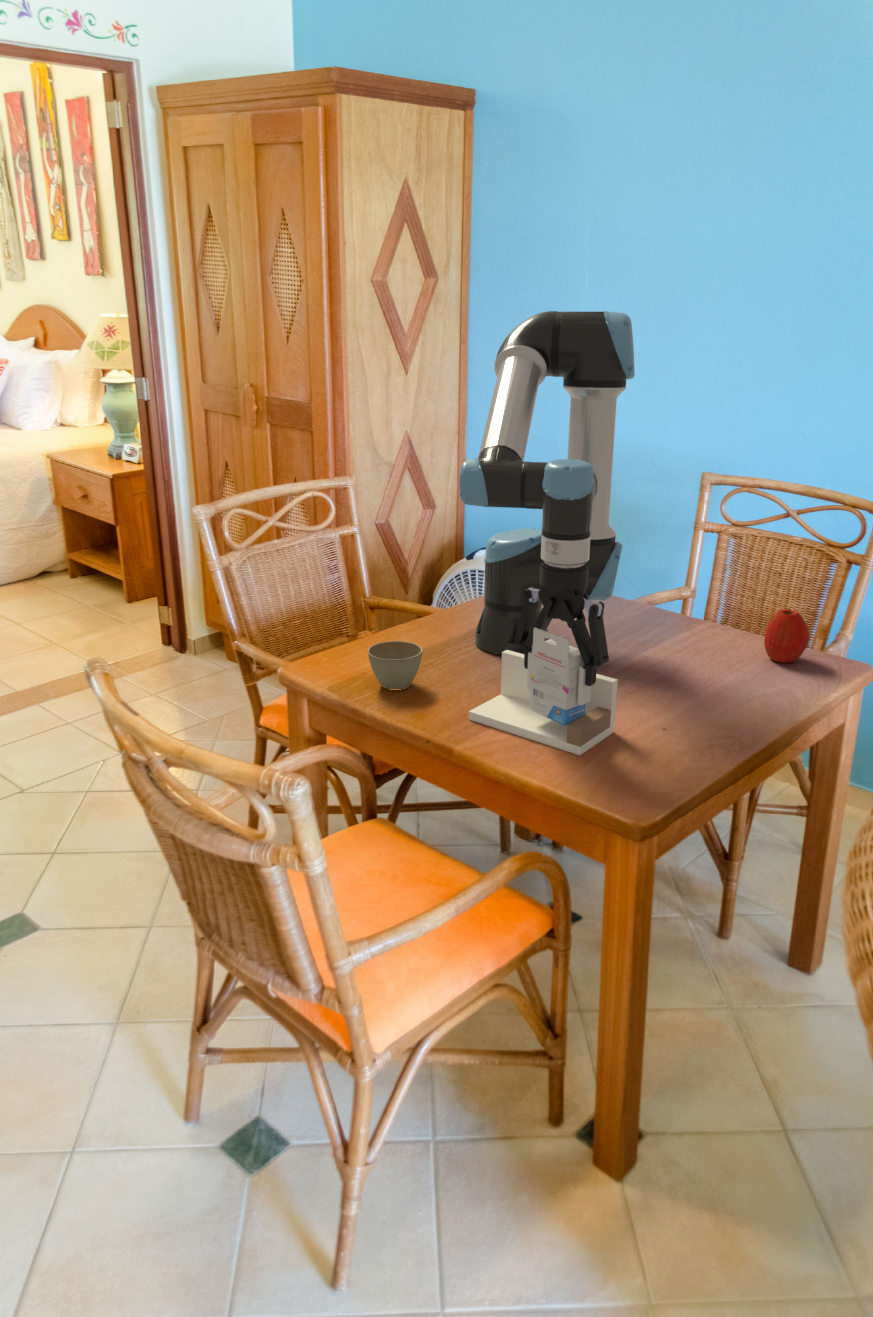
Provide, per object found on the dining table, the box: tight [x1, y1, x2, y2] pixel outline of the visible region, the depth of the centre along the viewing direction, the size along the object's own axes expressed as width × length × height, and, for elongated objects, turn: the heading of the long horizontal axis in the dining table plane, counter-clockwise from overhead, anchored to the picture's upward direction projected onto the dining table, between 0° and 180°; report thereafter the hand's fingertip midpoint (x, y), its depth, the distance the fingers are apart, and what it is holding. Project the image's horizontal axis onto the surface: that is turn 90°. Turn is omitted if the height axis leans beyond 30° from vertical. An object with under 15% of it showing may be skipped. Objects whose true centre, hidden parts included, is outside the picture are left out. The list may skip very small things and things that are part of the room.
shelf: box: [468, 650, 619, 756], centre depth 170 cm, size 22×11×10 cm, turn 51°
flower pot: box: [367, 640, 423, 690], centre depth 187 cm, size 10×10×7 cm
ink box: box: [530, 627, 586, 726], centre depth 164 cm, size 8×5×15 cm, turn 39°
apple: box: [763, 607, 810, 664], centre depth 199 cm, size 8×8×11 cm
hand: (558, 694), depth 166 cm, fingers closed on ink box, 9 cm apart
